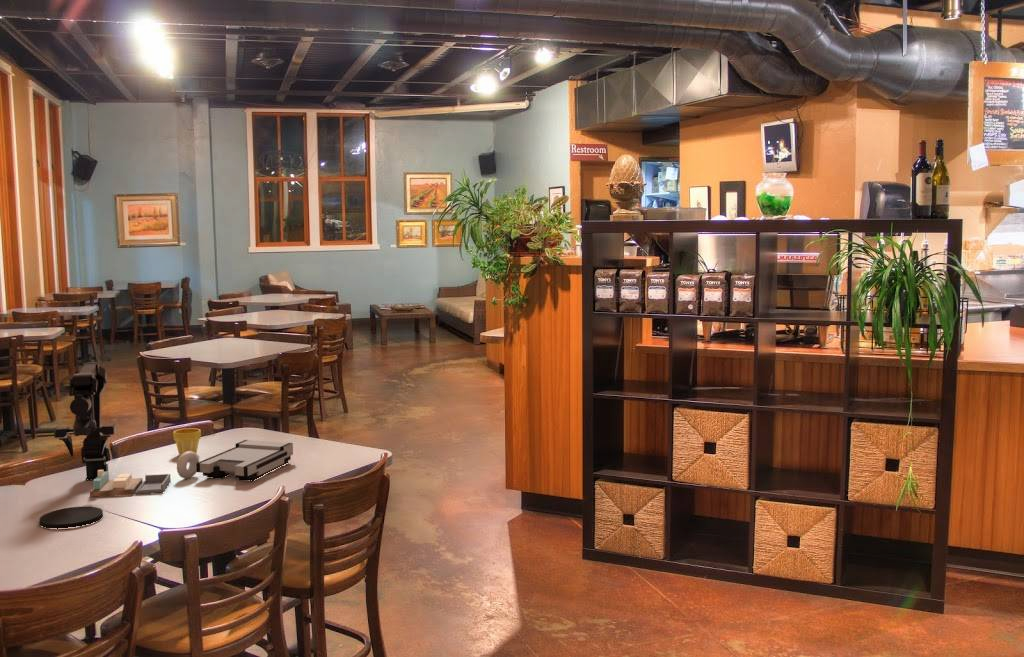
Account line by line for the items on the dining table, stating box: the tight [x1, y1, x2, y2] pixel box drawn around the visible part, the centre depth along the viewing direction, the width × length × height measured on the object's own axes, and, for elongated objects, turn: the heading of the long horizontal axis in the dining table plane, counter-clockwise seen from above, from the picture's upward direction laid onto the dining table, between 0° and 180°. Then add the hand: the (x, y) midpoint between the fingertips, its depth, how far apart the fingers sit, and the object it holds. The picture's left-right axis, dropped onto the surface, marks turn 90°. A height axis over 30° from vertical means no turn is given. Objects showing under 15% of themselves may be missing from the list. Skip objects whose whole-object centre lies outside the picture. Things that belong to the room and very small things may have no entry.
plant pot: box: [172, 427, 202, 457], centre depth 362 cm, size 10×10×10 cm
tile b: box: [116, 473, 133, 483], centre depth 315 cm, size 4×4×2 cm
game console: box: [196, 439, 294, 482], centre depth 336 cm, size 21×32×8 cm, turn 164°
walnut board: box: [89, 477, 144, 498], centre depth 313 cm, size 14×14×2 cm
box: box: [134, 473, 172, 495], centre depth 315 cm, size 9×14×3 cm, turn 11°
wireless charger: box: [38, 505, 104, 529], centre depth 280 cm, size 18×18×2 cm
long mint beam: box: [92, 470, 110, 490], centre depth 311 cm, size 2×12×5 cm, turn 11°
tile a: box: [113, 477, 129, 488], centre depth 310 cm, size 4×4×2 cm
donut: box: [176, 451, 200, 480], centre depth 327 cm, size 10×4×10 cm, turn 159°
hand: (86, 455), depth 309 cm, fingers open, 9 cm apart
